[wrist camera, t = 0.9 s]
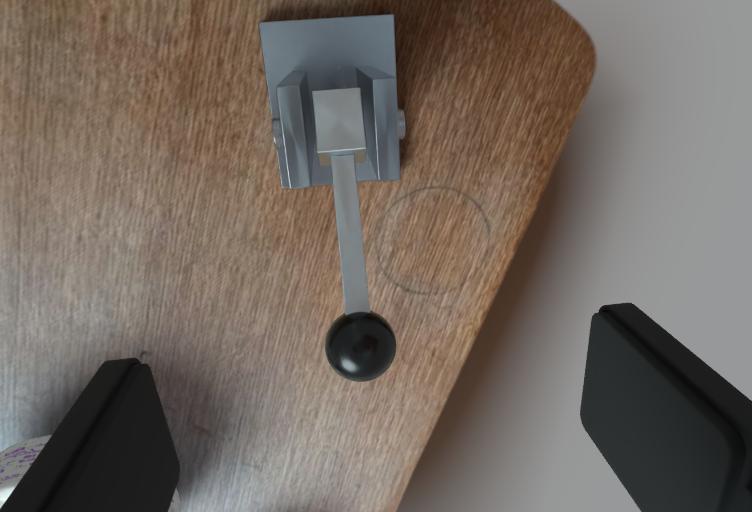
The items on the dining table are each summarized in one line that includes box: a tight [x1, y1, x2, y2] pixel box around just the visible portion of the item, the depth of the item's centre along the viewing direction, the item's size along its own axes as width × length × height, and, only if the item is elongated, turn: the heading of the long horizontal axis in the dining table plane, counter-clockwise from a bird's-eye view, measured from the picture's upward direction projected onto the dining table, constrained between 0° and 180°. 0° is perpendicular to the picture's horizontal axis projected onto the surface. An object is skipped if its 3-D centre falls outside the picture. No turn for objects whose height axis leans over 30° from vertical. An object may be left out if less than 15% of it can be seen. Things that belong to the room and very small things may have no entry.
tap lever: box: [311, 88, 396, 382], centre depth 22 cm, size 13×3×3 cm, turn 3°
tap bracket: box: [258, 14, 406, 189], centre depth 26 cm, size 10×8×12 cm
